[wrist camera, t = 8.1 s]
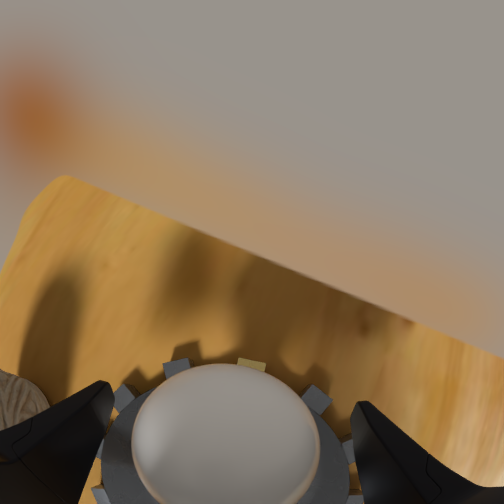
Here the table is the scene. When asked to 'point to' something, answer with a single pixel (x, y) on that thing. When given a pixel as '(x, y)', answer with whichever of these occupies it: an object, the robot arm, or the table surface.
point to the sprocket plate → (140, 500)
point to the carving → (19, 400)
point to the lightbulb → (225, 439)
